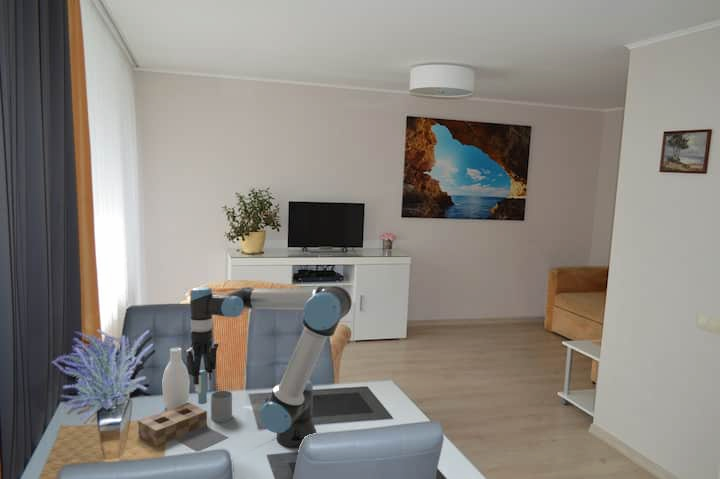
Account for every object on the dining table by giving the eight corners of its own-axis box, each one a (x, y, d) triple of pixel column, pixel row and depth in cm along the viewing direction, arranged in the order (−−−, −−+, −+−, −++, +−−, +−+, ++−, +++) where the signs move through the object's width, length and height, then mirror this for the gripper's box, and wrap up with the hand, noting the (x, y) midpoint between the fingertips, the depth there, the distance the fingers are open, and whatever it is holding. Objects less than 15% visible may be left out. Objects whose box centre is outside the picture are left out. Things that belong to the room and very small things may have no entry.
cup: (226, 423, 216) (226, 399, 215) (207, 421, 217) (207, 397, 216) (235, 414, 224) (235, 391, 223) (217, 412, 226) (217, 389, 225)
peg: (208, 402, 201) (208, 371, 200) (201, 404, 199) (201, 373, 197) (203, 400, 203) (203, 369, 202) (196, 402, 201) (196, 371, 199)
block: (206, 425, 214) (206, 411, 213) (156, 446, 197) (156, 430, 196) (188, 416, 221) (188, 402, 220) (138, 435, 204) (138, 420, 203)
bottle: (179, 399, 238) (178, 343, 235) (195, 406, 231) (194, 348, 228) (156, 407, 229) (156, 349, 226) (172, 414, 222) (172, 355, 219)
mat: (228, 438, 204) (228, 437, 204) (197, 452, 193) (197, 451, 193) (206, 427, 212) (206, 426, 212) (174, 440, 202) (174, 439, 201)
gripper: (213, 323, 206) (213, 382, 209) (176, 331, 194) (177, 394, 196) (225, 326, 202) (226, 386, 204) (188, 335, 189) (190, 400, 192)
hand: (202, 390), depth 200 cm, fingers closed on peg, 3 cm apart
